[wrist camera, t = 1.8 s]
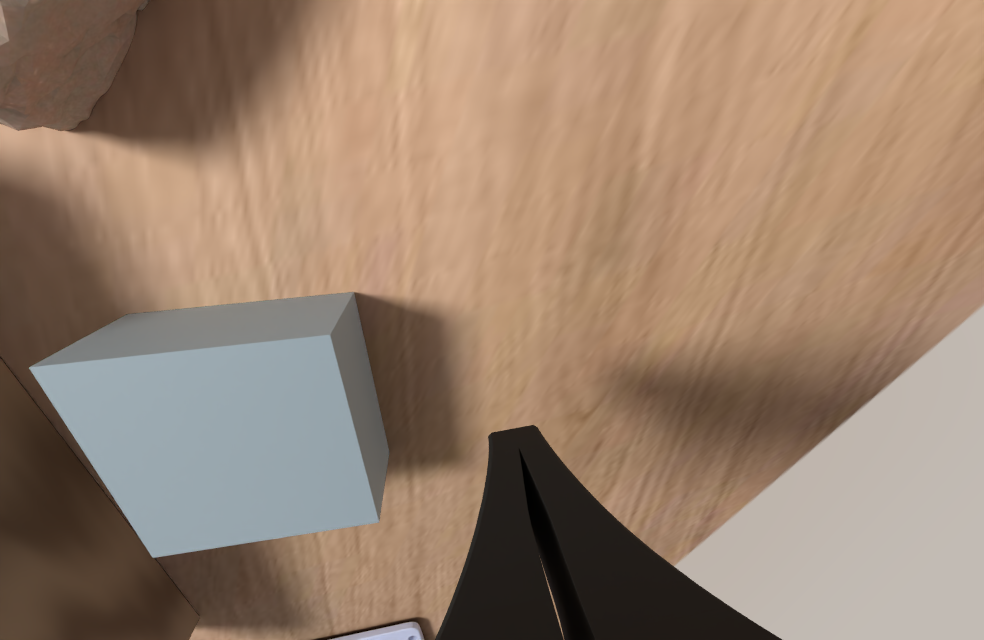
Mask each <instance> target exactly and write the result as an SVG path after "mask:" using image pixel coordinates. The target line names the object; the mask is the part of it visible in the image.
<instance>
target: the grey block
mask: <svg viewBox="0 0 984 640" xmlns="http://www.w3.org/2000/svg"><path fill="white" fill-rule="evenodd" d="M29 369H30V370H31V372H32V374H33V375H34V377H35V378H36V380H37V381H38V383H39V384H40V386H41V387H42V389H43V390H44V392H45V393H46V395H47V397H48V398H49V400H50V401H51V403H52V404H53V406H54V407H55V409H56V410H57V412H58V413H59V415H60V416H61V418H62V420H63V421H64V423H65V424H66V426H67V427H68V429H69V430H70V432H71V433H72V435H73V436H74V438H75V439H76V441H77V443H78V444H79V446H80V447H81V449H82V450H83V452H84V453H85V455H86V456H87V458H88V459H89V461H90V462H91V464H92V466H93V467H94V469H95V470H96V472H97V473H98V475H99V476H100V478H101V479H102V481H103V482H104V484H105V485H106V487H107V489H108V490H109V492H110V493H111V495H112V496H113V498H114V499H115V501H116V502H117V504H118V505H119V507H120V508H121V510H122V512H123V513H124V515H125V516H126V518H127V519H128V521H129V522H130V524H131V525H132V527H133V528H134V530H135V531H136V533H137V535H138V536H139V538H140V539H141V541H142V542H143V544H144V545H145V547H146V548H147V550H148V551H149V553H150V555H151V556H152V558H155V557H162V556H168V555H175V554H181V553H187V552H194V551H200V550H206V549H213V548H219V547H225V546H232V545H238V544H245V543H251V542H257V541H264V540H270V539H276V538H283V537H289V536H295V535H302V534H308V533H315V532H321V531H327V530H334V529H340V528H346V527H353V526H359V525H365V524H372V523H378V522H379V519H380V513H381V506H382V499H383V493H384V486H385V479H386V472H387V466H388V459H389V448H388V443H387V439H386V434H385V430H384V425H383V421H382V416H381V412H380V407H379V403H378V398H377V394H376V389H375V385H374V380H373V376H372V371H371V367H370V362H369V358H368V353H367V348H366V344H365V339H364V335H363V330H362V326H361V321H360V317H359V312H358V308H357V303H356V299H355V294H354V292H348V293H338V294H328V295H318V296H307V297H297V298H287V299H277V300H267V301H256V302H246V303H236V304H226V305H215V306H205V307H195V308H185V309H175V310H164V311H154V312H144V313H134V314H126V315H125V316H123V317H121V318H119V319H117V320H115V321H114V322H112V323H110V324H108V325H106V326H104V327H103V328H101V329H99V330H97V331H95V332H93V333H91V334H90V335H88V336H86V337H84V338H82V339H80V340H79V341H77V342H75V343H73V344H71V345H69V346H67V347H66V348H64V349H62V350H60V351H58V352H56V353H55V354H53V355H51V356H49V357H47V358H45V359H43V360H42V361H40V362H38V363H36V364H34V365H32V366H31V367H29Z"/></svg>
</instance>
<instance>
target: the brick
mask: <svg viewBox="0 0 984 640" xmlns="http://www.w3.org/2000/svg"><path fill="white" fill-rule="evenodd" d="M148 2H149V0H0V124H3V125H5V126H8V127H10V128H13V129H15V130H18V131H19V130H26V129H32V128H37V127H42V126H43V127H47V128H51V129H55V130H59V131H64V130H70V129H74V128H76V127H77V125H78V124H79V123H80V122H81V121H83V120H86V119H88V118H89V116H90V114H91V111H92V109H93V107H94V105H95V104H96V102H97V101H98V99H99V97H101V96H102V95H103V94H105V93H106V92H107V91H108V89H109V88H110V86H111V84H112V82H113V80H114V78H115V76H116V73H117V71H118V69H119V67H120V65H121V63H122V61H123V60H124V58H125V56H126V54H127V52H128V49H129V47H130V44H131V42H132V39H133V36H134V34H135V27H136V21H137V14H136V11H137V10H143V9H144V8H145V7H146V5H147V3H148Z"/></svg>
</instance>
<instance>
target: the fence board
mask: <svg viewBox="0 0 984 640" xmlns="http://www.w3.org/2000/svg"><path fill="white" fill-rule="evenodd" d="M199 619H200V617H199V616H198V614H197V613H196V612H195V610H194V609H193V608H192V606H191V605H190V604H189V603H188V601H187V600H186V599H185V597H184V596H183V595H182V593H181V592H180V591H179V590H178V588H177V587H176V586H175V584H174V583H173V582H172V580H171V579H170V578H169V577H168V575H167V574H166V573H165V571H164V570H163V569H162V567H161V566H160V565H159V564H158V562H157V561H156V560H155V558H152V556H151V555H150V553H149V551H148V550H147V548H146V547H145V545H144V544H143V543H142V541H141V540H140V539H139V538H138V536H137V535H136V534H135V532H134V531H133V530H132V528H131V527H130V526H129V525H128V523H127V522H126V521H125V519H124V518H123V517H122V515H121V514H120V513H119V512H118V510H117V509H116V508H115V506H114V505H113V504H112V502H111V501H110V500H109V499H108V497H107V496H106V495H105V493H104V492H103V491H102V489H101V488H100V487H99V486H98V484H97V483H96V482H95V480H94V479H93V478H92V476H91V475H90V474H89V473H88V471H87V470H86V469H85V467H84V466H83V465H82V463H81V462H80V461H79V460H78V458H77V457H76V456H75V454H74V453H73V452H72V450H71V449H70V448H69V447H68V445H67V444H66V443H65V441H64V440H63V439H62V437H61V436H60V435H59V434H58V432H57V431H56V430H55V428H54V427H53V426H52V424H51V423H50V422H49V421H48V419H47V418H46V417H45V415H44V414H43V413H42V411H41V410H40V409H39V408H38V406H37V405H36V404H35V402H34V401H33V400H32V398H31V397H30V396H29V395H28V393H27V392H26V391H25V389H24V388H23V387H22V385H21V384H20V383H19V382H18V380H17V379H16V378H15V376H14V375H13V374H12V372H11V371H10V370H9V369H8V367H7V366H6V365H5V363H4V362H3V361H2V359H1V358H0V640H189V638H190V636H191V634H192V632H193V630H194V628H195V627H196V625H197V623H198V621H199Z"/></svg>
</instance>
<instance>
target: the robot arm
mask: <svg viewBox="0 0 984 640" xmlns="http://www.w3.org/2000/svg"><path fill="white" fill-rule="evenodd" d="M488 440H489V459H488V468H487V476H486V482H485V488H484V494H483V499H482V503H481V507H480V512H479V516H478V520H477V524H476V528H475V532H474V535H473V539H472V542H471V546H470V549H469V552H468V555H467V558H466V562H465V565H464V568H463V571H462V573H461V576H460V579H459V582H458V584H457V587H456V590H455V593H454V595H453V598H452V601H451V603H450V606H449V608H448V611H447V613H446V616H445V618H444V620H443V623H442V625H441V627H440V630H439V632H438V634H437V636H436V639H435V640H782V639H780V638H779V637H777V636H775V635H774V634H772V633H771V632H769V631H767V630H766V629H764V628H762V627H761V626H759V625H758V624H756V623H754V622H753V621H751V620H750V619H748V618H747V617H745V616H744V615H742V614H741V613H739V612H737V611H736V610H734V609H733V608H731V607H730V606H728V605H727V604H725V603H724V602H722V601H721V600H719V599H718V598H717V597H715V596H714V595H712V594H711V593H709V592H708V591H706V590H705V589H703V588H702V587H701V586H699V585H698V584H696V583H695V582H694V581H692V580H691V579H690V578H688V577H687V576H686V575H684V574H683V573H682V572H680V571H679V570H677V569H676V568H675V567H674V566H672V565H671V564H670V563H669V562H667V561H666V560H665V559H663V558H662V557H661V556H659V555H658V554H657V553H655V552H654V551H653V550H652V549H650V548H649V547H648V546H647V545H646V544H644V543H643V542H642V541H641V540H640V539H638V538H637V537H636V536H635V535H634V534H633V533H631V532H630V531H629V530H628V529H627V528H626V527H625V526H624V525H622V524H621V523H620V522H619V521H618V520H617V519H616V518H615V517H614V516H613V515H612V514H611V513H609V512H608V511H607V510H606V509H605V508H604V507H603V506H602V505H601V504H600V503H599V502H598V501H597V500H596V499H595V498H594V497H593V496H592V495H591V493H590V492H589V491H588V490H587V489H586V488H585V487H584V486H583V485H582V484H581V483H580V482H579V481H578V479H577V478H576V477H575V476H574V475H573V474H572V473H571V471H570V470H569V469H568V468H567V467H566V466H565V464H564V463H563V462H562V461H561V460H560V458H559V457H558V456H557V454H556V453H555V452H554V451H553V449H552V448H551V447H550V445H549V444H548V443H547V441H546V440H545V438H544V437H543V435H542V434H541V432H540V431H539V429H538V428H537V427H536V426H534V425H531V426H525V427H520V428H515V429H509V430H504V431H498V432H493V433H491V434H490V435H489V436H488ZM539 555H540V556H539ZM540 558H541V560H540ZM541 561H542V563H541ZM542 565H543V567H542ZM543 568H544V570H543ZM544 571H545V574H546V577H547V580H548V583H549V586H550V589H551V592H552V595H553V598H554V602H555V605H556V609H557V612H558V616H559V619H560V623H561V627H562V631H563V636H564V639H563V636H562V632H561V629H560V626H559V622H558V619H557V615H556V612H555V609H554V605H553V602H552V598H551V595H550V591H549V588H548V584H547V581H546V577H545V574H544ZM329 640H424V637H423V634H422V631H421V628H420V626H419V624H418V623H416V622H407V623H402V624H398V625H393V626H388V627H384V628H379V629H375V630H370V631H366V632H361V633H356V634H352V635H347V636H343V637H338V638H333V639H329Z"/></svg>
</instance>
